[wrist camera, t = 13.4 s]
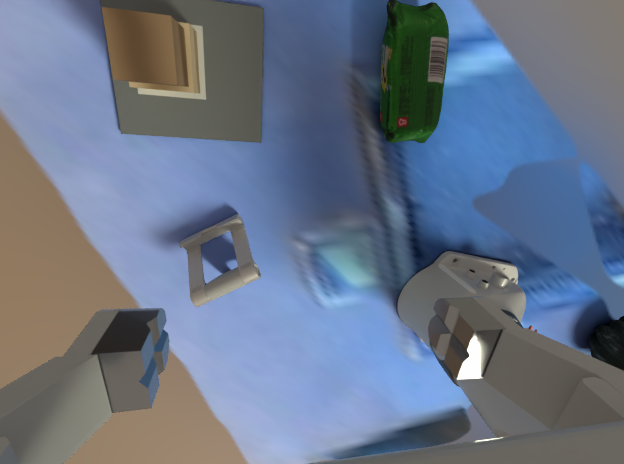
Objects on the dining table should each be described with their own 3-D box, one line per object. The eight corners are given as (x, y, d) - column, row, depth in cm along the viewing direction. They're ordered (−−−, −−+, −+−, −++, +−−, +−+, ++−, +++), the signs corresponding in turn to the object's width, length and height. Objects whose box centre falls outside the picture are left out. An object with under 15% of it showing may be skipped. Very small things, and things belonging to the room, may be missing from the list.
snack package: (434, 3, 36) (460, -12, 31) (422, 140, 42) (443, 145, 37) (376, 5, 35) (394, -10, 30) (373, 145, 41) (388, 150, 36)
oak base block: (196, 31, 32) (189, 23, 29) (200, 93, 34) (193, 92, 31) (135, 24, 31) (119, 14, 27) (143, 88, 33) (129, 87, 30)
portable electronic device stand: (237, 211, 42) (233, 236, 34) (264, 255, 45) (265, 287, 37) (181, 238, 42) (165, 268, 34) (212, 280, 45) (203, 316, 38)
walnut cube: (184, 28, 29) (170, 15, 24) (188, 86, 31) (177, 84, 26) (126, 22, 28) (101, 6, 23) (135, 82, 30) (113, 79, 25)
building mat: (263, 9, 33) (263, 7, 32) (261, 141, 38) (261, 142, 38) (100, -15, 30) (97, -17, 29) (123, 133, 35) (120, 133, 35)
